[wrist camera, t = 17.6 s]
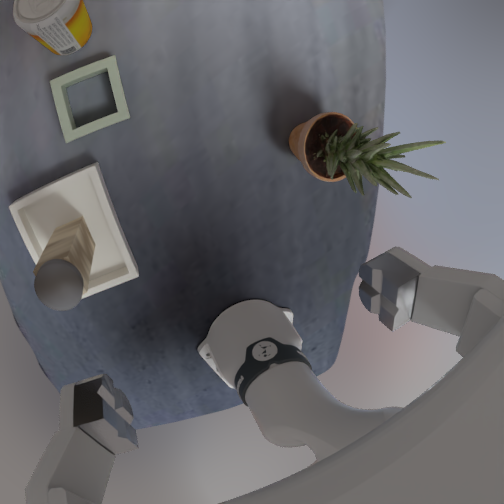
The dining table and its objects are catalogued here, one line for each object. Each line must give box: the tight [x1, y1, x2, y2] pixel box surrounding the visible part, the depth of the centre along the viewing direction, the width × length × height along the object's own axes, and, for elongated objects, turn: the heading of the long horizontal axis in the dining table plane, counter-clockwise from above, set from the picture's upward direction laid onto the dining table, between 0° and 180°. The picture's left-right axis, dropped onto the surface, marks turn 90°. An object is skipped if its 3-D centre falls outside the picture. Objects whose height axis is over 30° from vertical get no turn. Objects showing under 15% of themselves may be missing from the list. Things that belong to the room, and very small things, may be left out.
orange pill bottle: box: [13, 0, 92, 55], centre depth 18 cm, size 6×6×15 cm
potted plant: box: [289, 112, 446, 198], centre depth 33 cm, size 10×10×25 cm
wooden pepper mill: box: [33, 216, 95, 311], centre depth 30 cm, size 5×5×13 cm
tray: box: [9, 162, 139, 299], centre depth 35 cm, size 16×13×3 cm
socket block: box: [50, 55, 130, 143], centre depth 29 cm, size 8×8×3 cm
